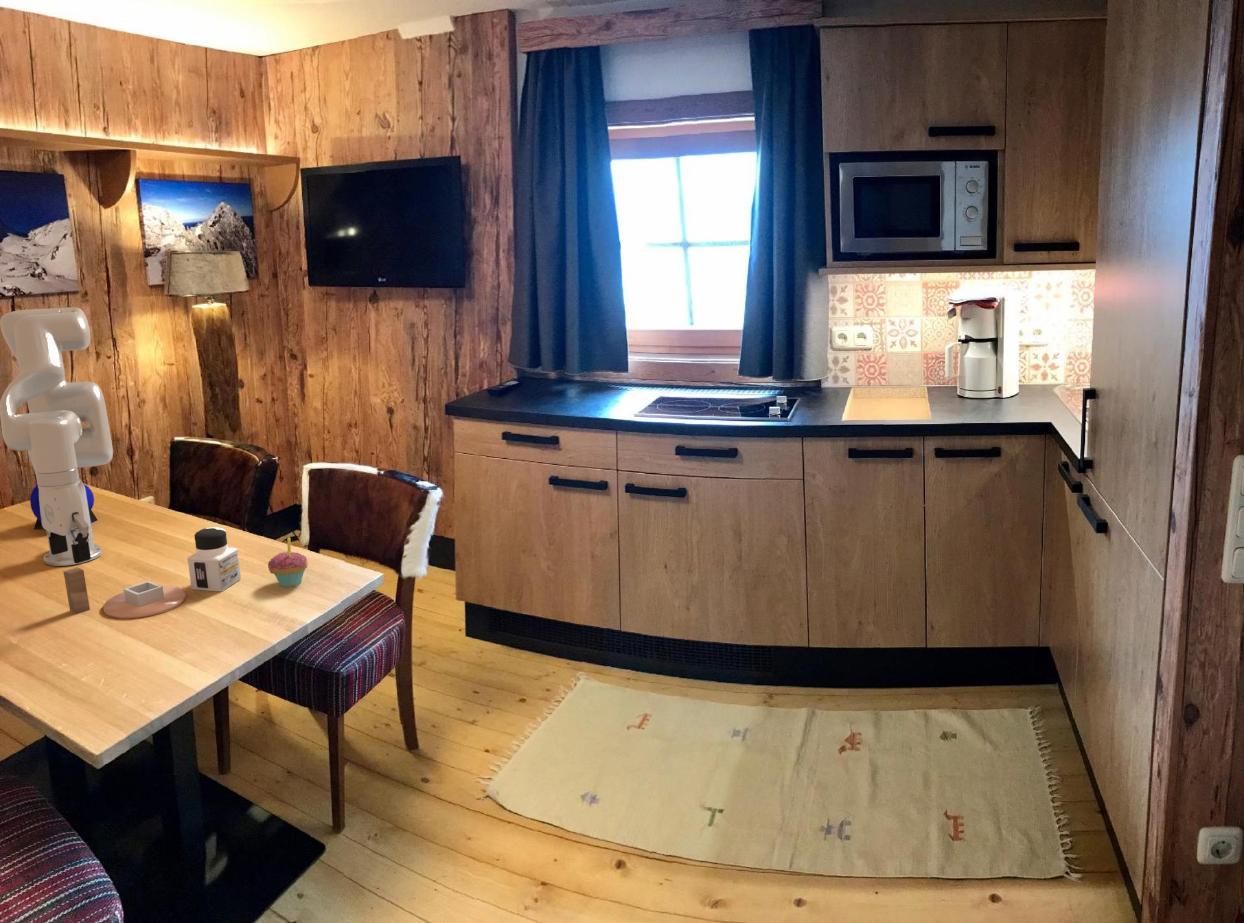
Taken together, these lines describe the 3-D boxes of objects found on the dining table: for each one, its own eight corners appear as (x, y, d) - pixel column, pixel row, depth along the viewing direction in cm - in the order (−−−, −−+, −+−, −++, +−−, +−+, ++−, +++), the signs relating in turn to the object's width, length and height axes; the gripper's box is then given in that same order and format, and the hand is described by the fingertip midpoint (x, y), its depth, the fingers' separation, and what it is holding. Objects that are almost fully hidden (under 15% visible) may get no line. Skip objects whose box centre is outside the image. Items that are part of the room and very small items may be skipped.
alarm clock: (31, 530, 261) (21, 475, 257) (64, 516, 273) (55, 463, 269) (72, 532, 259) (63, 477, 255) (103, 517, 271) (95, 465, 267)
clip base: (89, 606, 211) (86, 591, 210) (160, 583, 224) (158, 568, 223) (128, 624, 202) (126, 608, 201) (200, 599, 214) (198, 584, 213)
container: (222, 592, 218) (215, 536, 215) (190, 589, 220) (183, 534, 216) (241, 579, 226) (235, 525, 222) (211, 577, 227) (204, 523, 224)
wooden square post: (70, 610, 209) (63, 571, 207) (83, 606, 211) (76, 567, 209) (76, 613, 208) (69, 573, 205) (89, 609, 210) (83, 569, 207)
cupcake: (316, 582, 223) (311, 532, 220) (281, 593, 217) (276, 542, 214) (297, 573, 229) (292, 524, 226) (262, 583, 223) (257, 533, 220)
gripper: (19, 476, 204) (32, 554, 208) (59, 487, 194) (72, 570, 198) (56, 468, 210) (69, 545, 214) (97, 479, 200) (110, 559, 204)
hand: (71, 556), depth 206 cm, fingers open, 9 cm apart
